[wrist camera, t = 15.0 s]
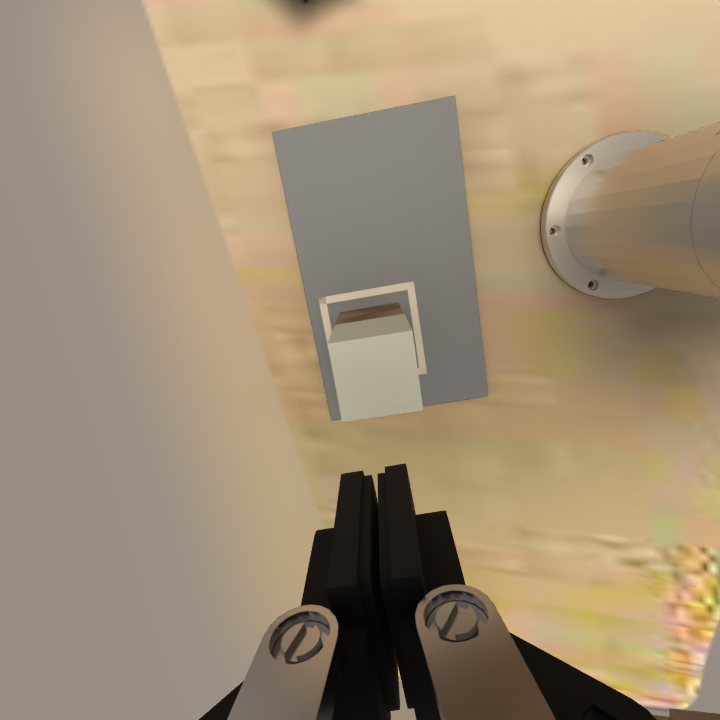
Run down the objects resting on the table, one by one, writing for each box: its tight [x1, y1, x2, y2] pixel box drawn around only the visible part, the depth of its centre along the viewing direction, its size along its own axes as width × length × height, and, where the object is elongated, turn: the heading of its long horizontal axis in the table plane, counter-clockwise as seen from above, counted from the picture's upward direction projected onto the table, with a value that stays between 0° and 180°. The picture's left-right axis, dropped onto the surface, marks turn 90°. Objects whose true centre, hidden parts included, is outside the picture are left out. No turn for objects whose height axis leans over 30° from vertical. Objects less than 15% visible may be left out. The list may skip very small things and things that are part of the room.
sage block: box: [328, 314, 423, 422], centre depth 30 cm, size 5×5×6 cm
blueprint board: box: [272, 96, 488, 421], centre depth 38 cm, size 14×24×1 cm, turn 10°
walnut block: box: [334, 302, 404, 326], centre depth 36 cm, size 5×5×6 cm
